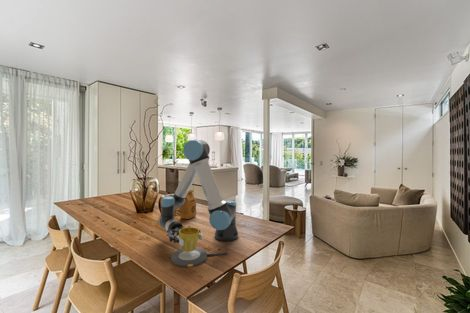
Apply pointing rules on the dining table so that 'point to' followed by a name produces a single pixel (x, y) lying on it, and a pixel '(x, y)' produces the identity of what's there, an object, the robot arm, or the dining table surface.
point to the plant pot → (189, 238)
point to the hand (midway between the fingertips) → (192, 240)
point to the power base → (191, 257)
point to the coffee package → (188, 206)
